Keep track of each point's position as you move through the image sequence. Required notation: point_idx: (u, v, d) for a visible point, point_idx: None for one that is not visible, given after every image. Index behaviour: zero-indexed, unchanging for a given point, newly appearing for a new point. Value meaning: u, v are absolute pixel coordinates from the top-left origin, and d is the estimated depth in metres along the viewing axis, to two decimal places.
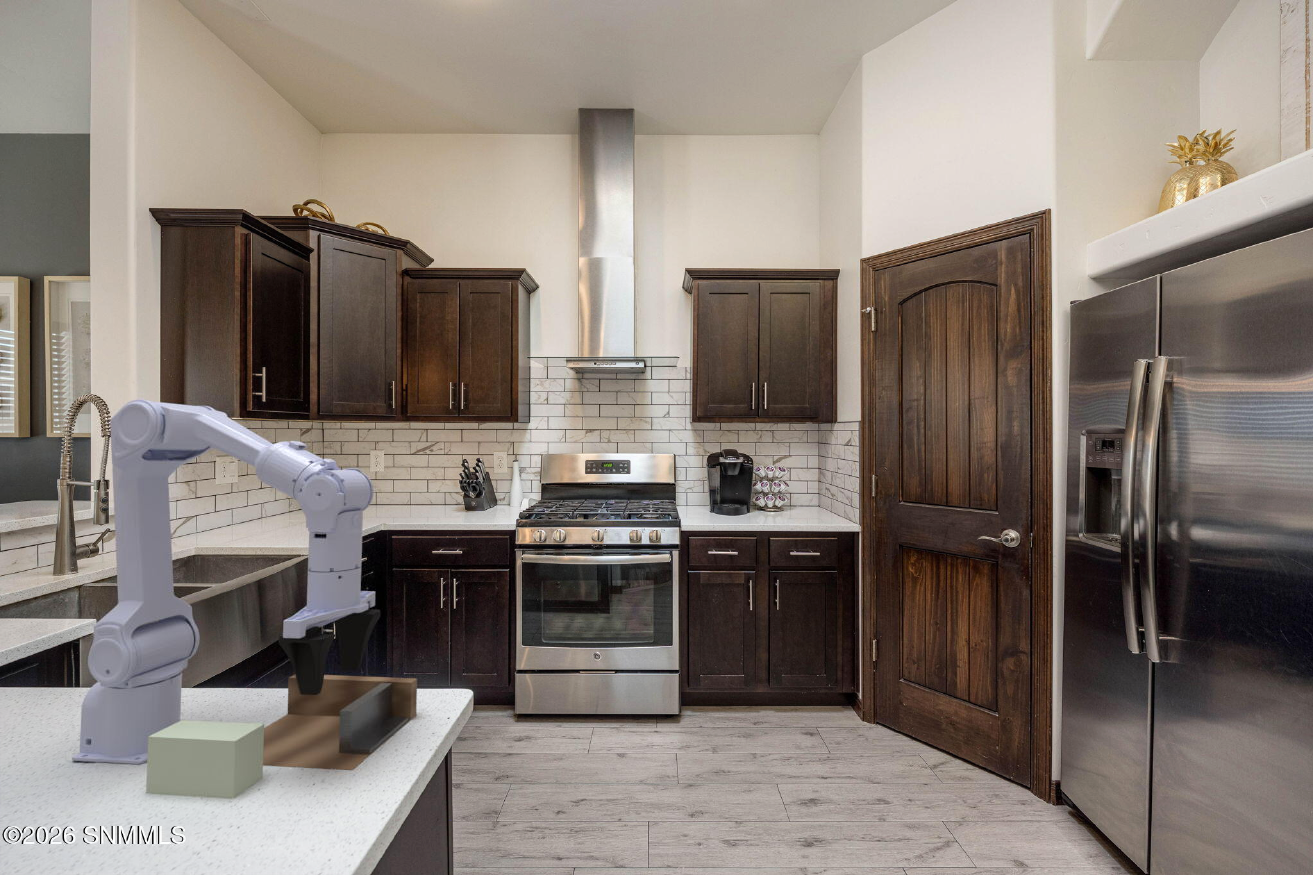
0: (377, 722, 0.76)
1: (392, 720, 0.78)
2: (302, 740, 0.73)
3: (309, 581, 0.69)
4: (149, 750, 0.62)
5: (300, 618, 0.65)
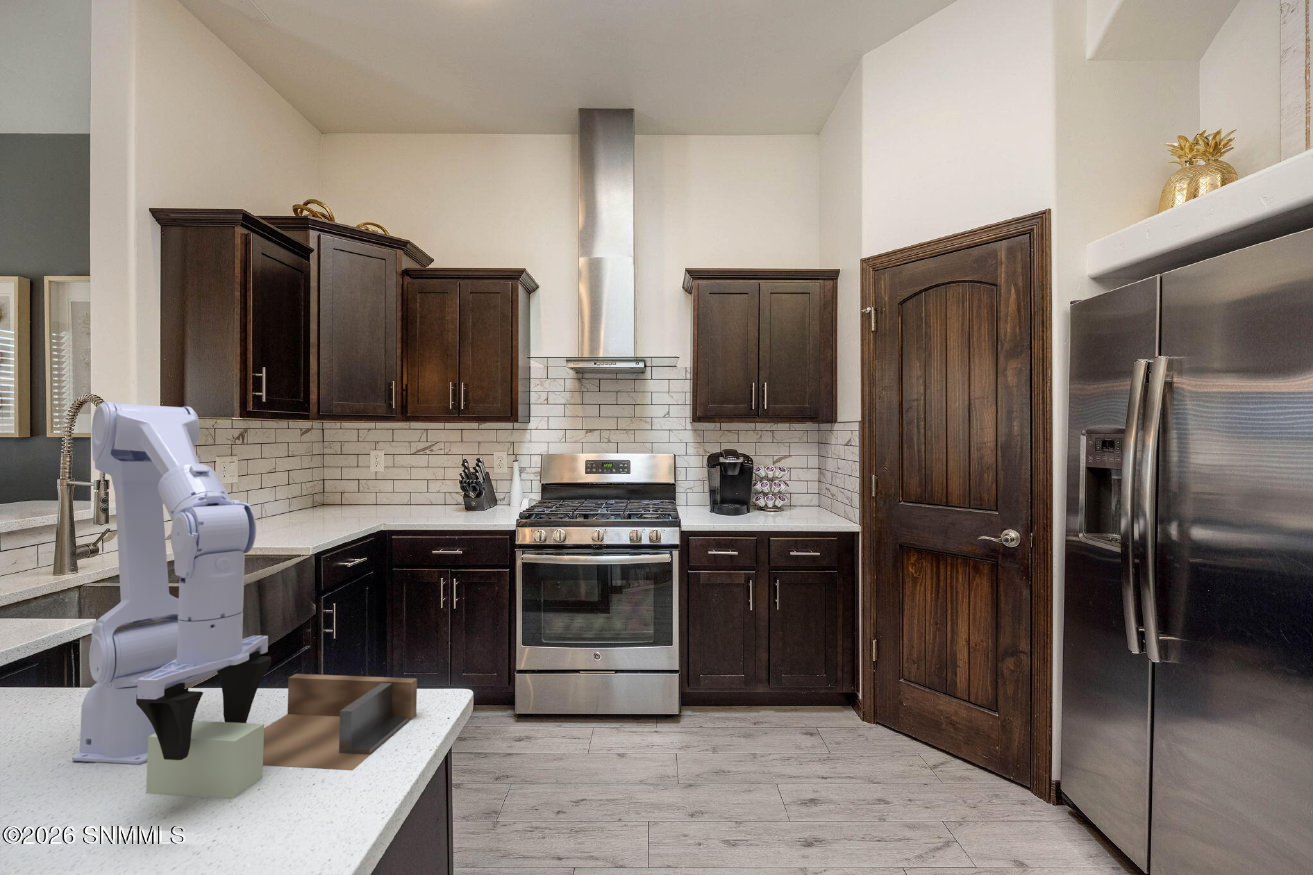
0: (377, 722, 0.76)
1: (392, 720, 0.78)
2: (302, 740, 0.73)
3: (178, 631, 0.62)
4: (149, 750, 0.62)
5: (159, 675, 0.58)
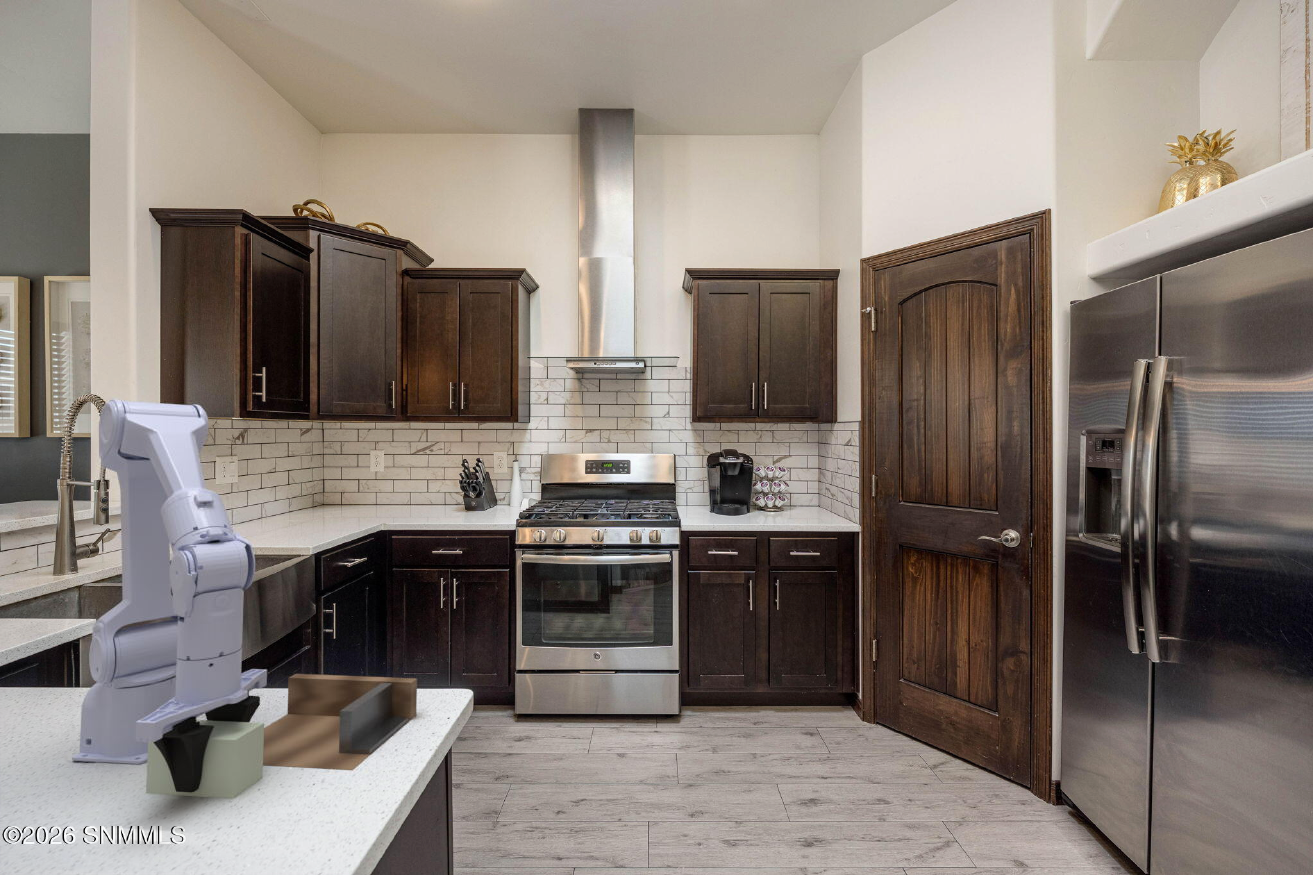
0: (377, 722, 0.76)
1: (392, 720, 0.78)
2: (302, 740, 0.73)
3: (177, 670, 0.62)
4: (149, 749, 0.62)
5: (157, 717, 0.58)
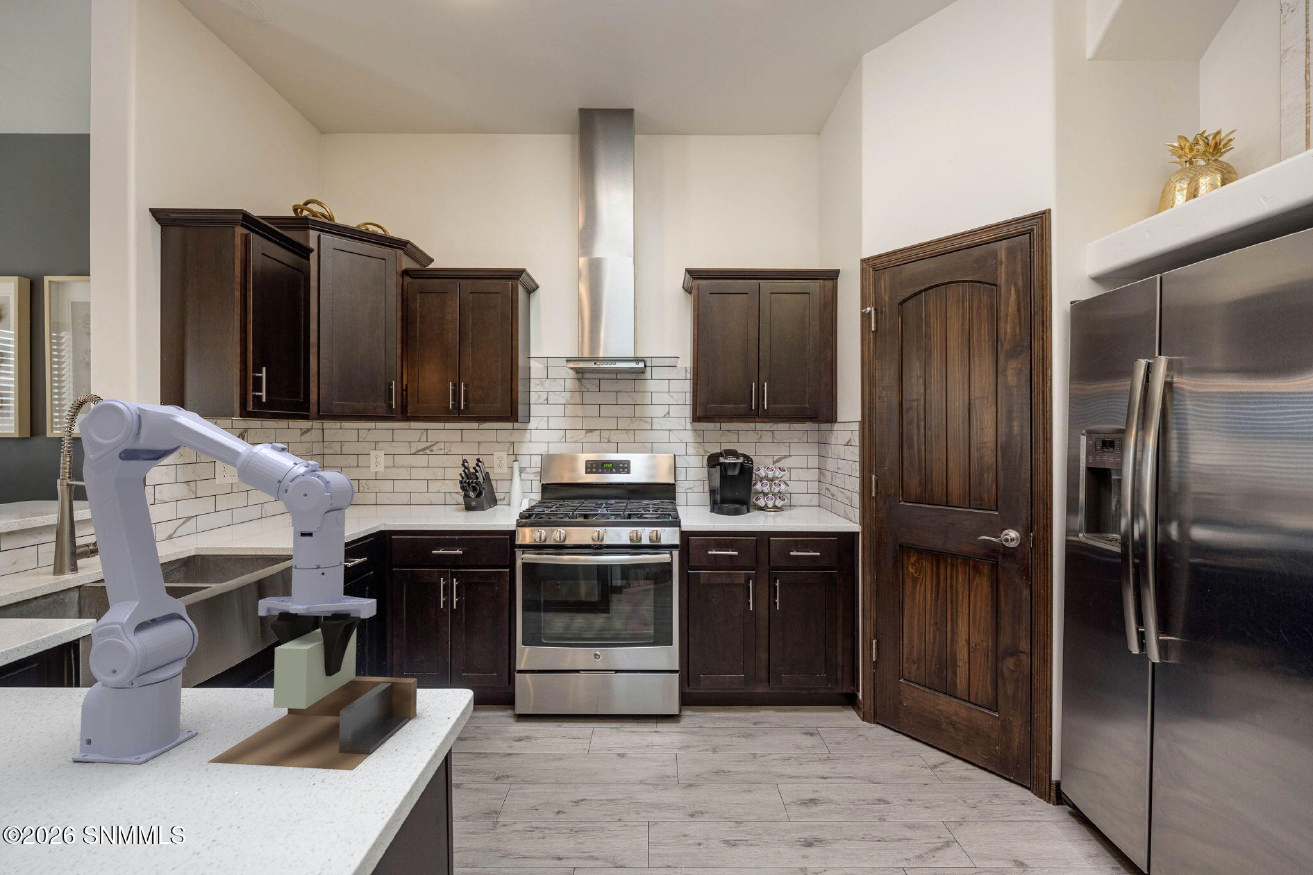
0: (377, 722, 0.76)
1: (392, 720, 0.78)
2: (302, 740, 0.73)
3: None
4: None
5: (272, 599, 0.75)
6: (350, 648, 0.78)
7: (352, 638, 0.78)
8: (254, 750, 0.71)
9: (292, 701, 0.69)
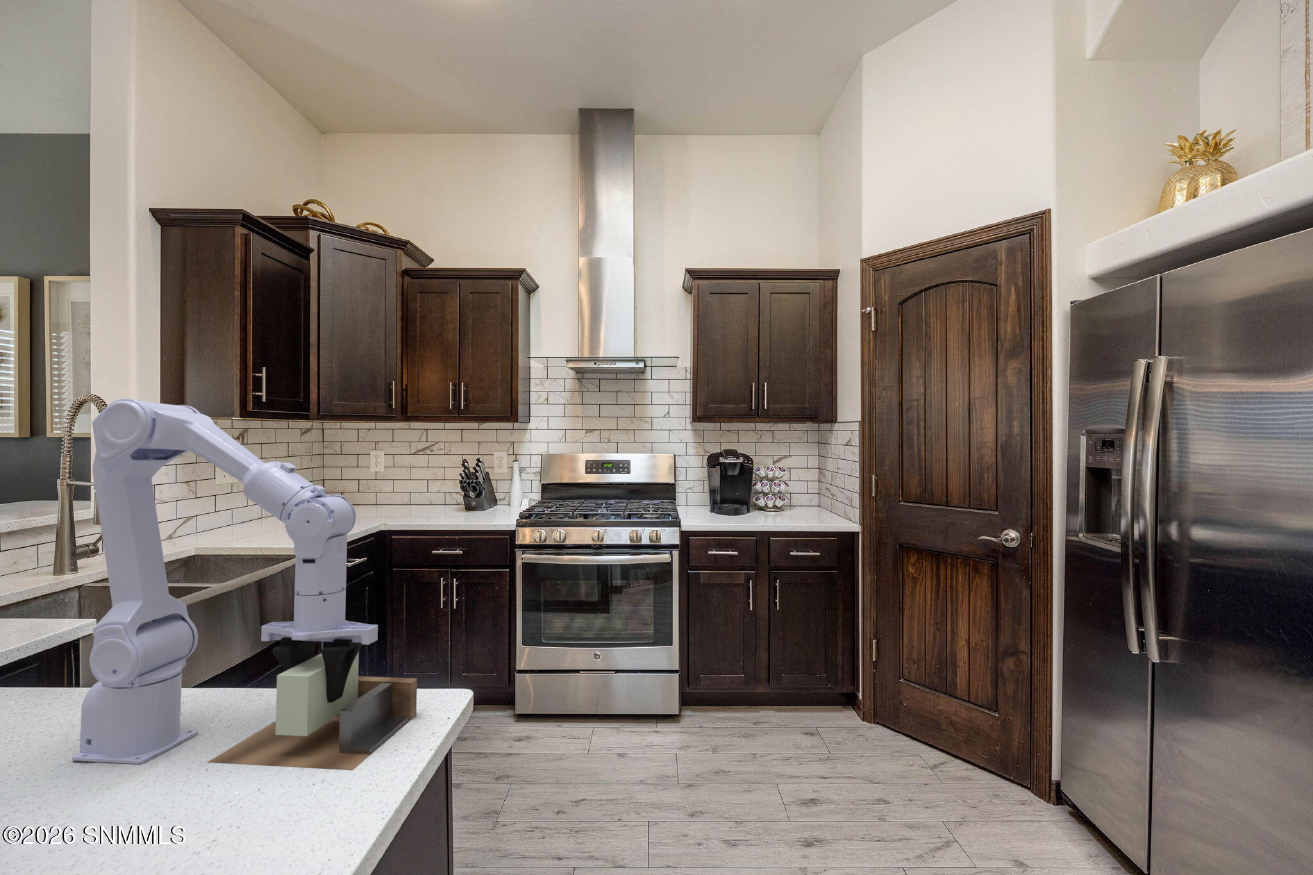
0: (377, 722, 0.76)
1: (392, 720, 0.78)
2: (302, 740, 0.73)
3: None
4: None
5: (274, 625, 0.75)
6: (352, 672, 0.78)
7: (354, 662, 0.78)
8: (254, 750, 0.71)
9: (294, 729, 0.69)
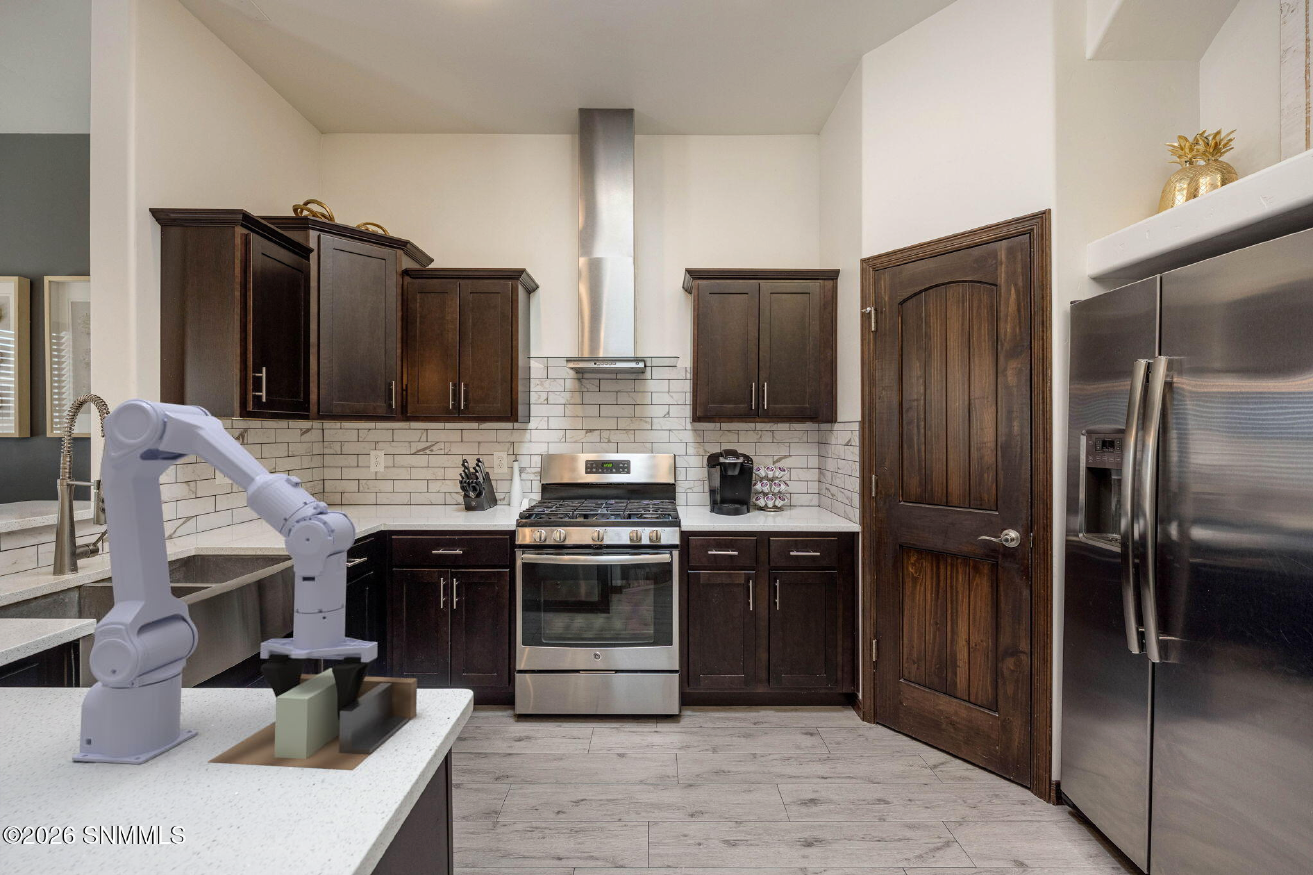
0: (377, 722, 0.76)
1: (392, 720, 0.78)
2: None
3: None
4: None
5: (274, 642, 0.75)
6: None
7: None
8: (254, 750, 0.71)
9: (293, 751, 0.69)
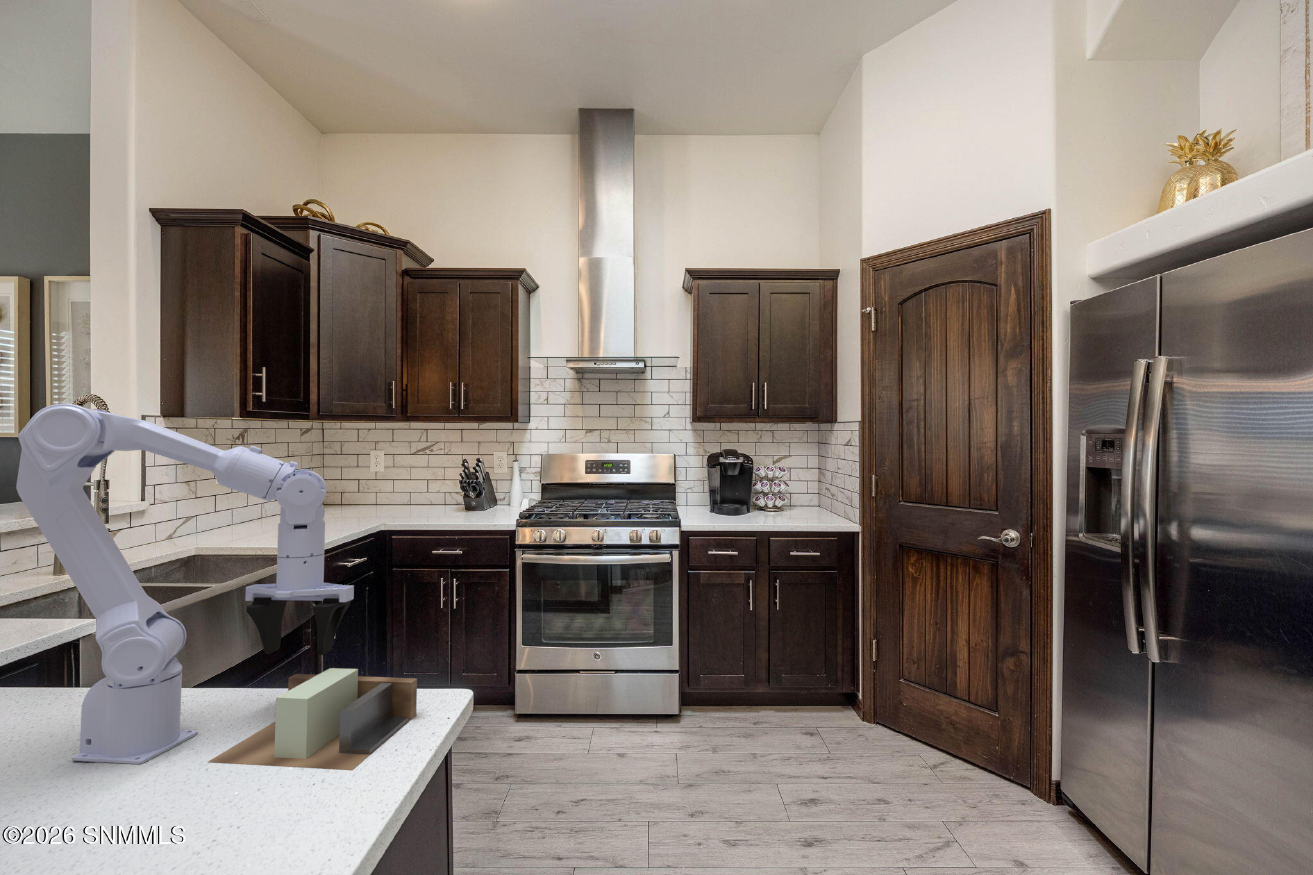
0: (377, 722, 0.76)
1: (392, 720, 0.78)
2: None
3: None
4: None
5: (258, 586, 0.82)
6: (352, 693, 0.78)
7: (354, 682, 0.78)
8: (254, 750, 0.71)
9: (293, 751, 0.69)
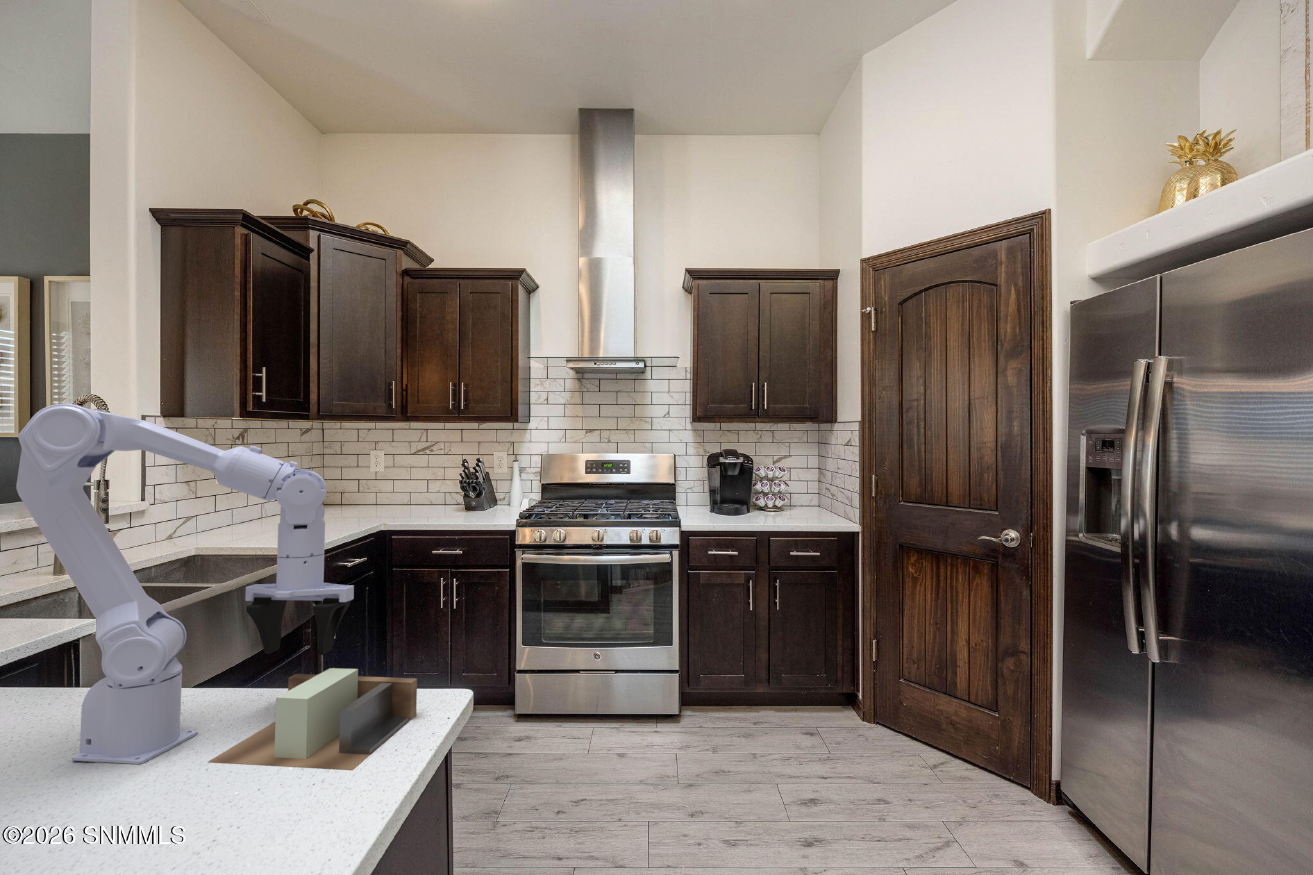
0: (377, 722, 0.76)
1: (392, 720, 0.78)
2: None
3: None
4: None
5: (258, 586, 0.82)
6: (352, 693, 0.78)
7: (354, 682, 0.78)
8: (254, 750, 0.71)
9: (293, 751, 0.69)
